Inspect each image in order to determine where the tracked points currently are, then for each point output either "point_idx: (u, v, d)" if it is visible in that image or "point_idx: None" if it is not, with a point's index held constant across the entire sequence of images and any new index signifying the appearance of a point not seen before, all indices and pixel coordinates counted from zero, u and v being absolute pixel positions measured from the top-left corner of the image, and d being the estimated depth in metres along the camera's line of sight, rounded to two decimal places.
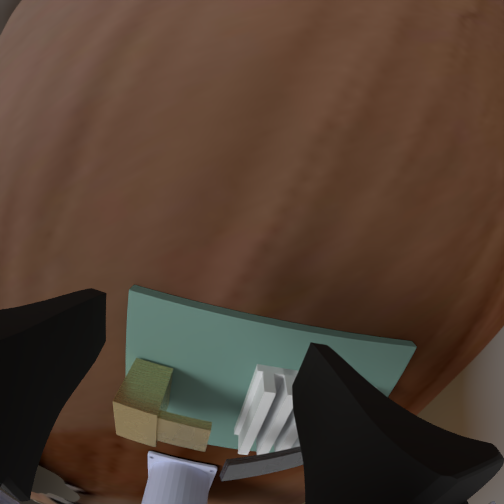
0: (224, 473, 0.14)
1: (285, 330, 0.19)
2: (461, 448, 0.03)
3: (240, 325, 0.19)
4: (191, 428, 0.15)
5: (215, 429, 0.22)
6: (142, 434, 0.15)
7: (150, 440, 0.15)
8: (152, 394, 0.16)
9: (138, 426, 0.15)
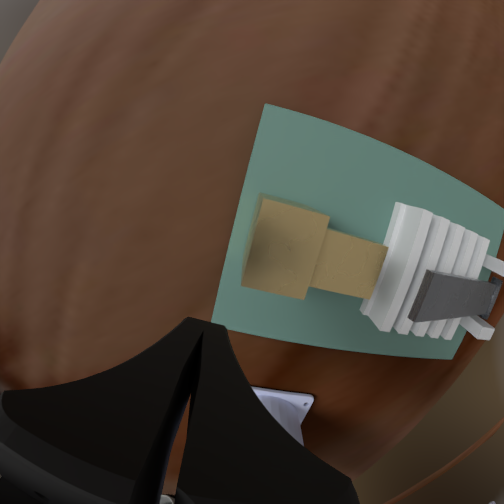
0: (421, 300, 0.11)
1: (418, 162, 0.16)
2: (284, 471, 0.03)
3: (382, 150, 0.16)
4: (366, 245, 0.13)
5: (336, 315, 0.19)
6: (293, 269, 0.13)
7: (301, 282, 0.13)
8: (306, 207, 0.14)
9: (291, 250, 0.12)
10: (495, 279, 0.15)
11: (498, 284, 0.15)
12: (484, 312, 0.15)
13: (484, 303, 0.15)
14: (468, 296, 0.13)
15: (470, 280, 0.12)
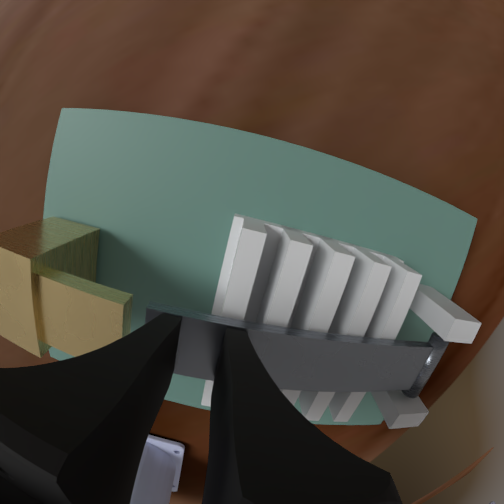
0: None
1: (280, 145, 0.11)
2: (331, 470, 0.03)
3: (207, 135, 0.11)
4: (87, 299, 0.08)
5: None
6: (18, 320, 0.07)
7: (30, 337, 0.08)
8: (45, 241, 0.09)
9: (11, 299, 0.07)
10: (432, 338, 0.10)
11: (436, 347, 0.10)
12: (402, 388, 0.10)
13: (393, 375, 0.10)
14: (307, 362, 0.09)
15: (298, 337, 0.09)
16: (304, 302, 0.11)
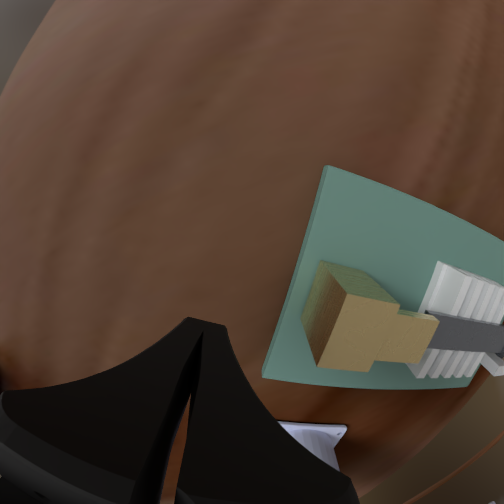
0: None
1: (460, 221, 0.16)
2: (284, 471, 0.03)
3: (431, 213, 0.16)
4: (423, 322, 0.13)
5: (376, 362, 0.19)
6: (363, 350, 0.13)
7: (368, 359, 0.13)
8: (374, 288, 0.14)
9: (364, 336, 0.12)
10: None
11: None
12: (498, 351, 0.16)
13: (496, 343, 0.15)
14: (473, 334, 0.15)
15: (473, 321, 0.15)
16: None
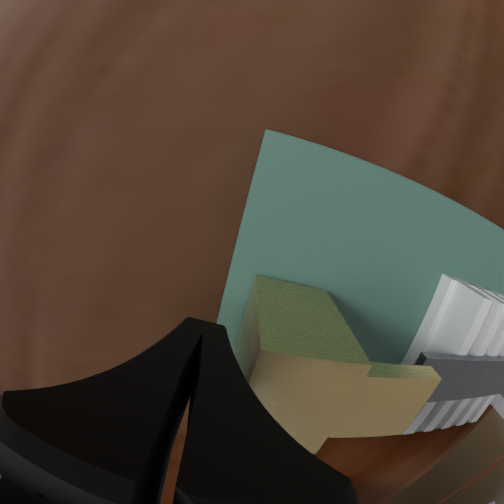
0: None
1: (475, 217, 0.11)
2: (283, 471, 0.03)
3: (434, 203, 0.11)
4: (414, 383, 0.07)
5: None
6: (303, 429, 0.07)
7: (314, 439, 0.07)
8: (330, 328, 0.08)
9: (303, 412, 0.07)
10: None
11: None
12: None
13: None
14: (485, 377, 0.09)
15: (488, 361, 0.09)
16: None
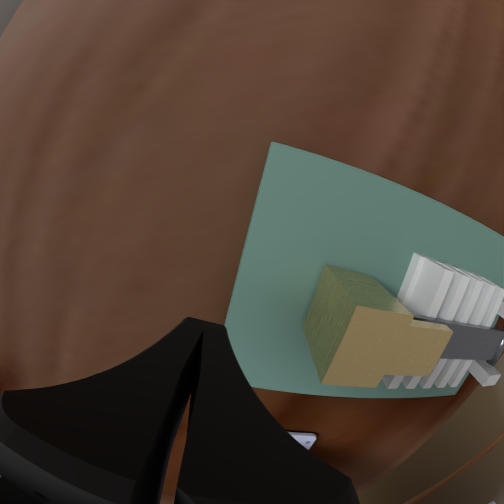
0: None
1: (441, 207, 0.15)
2: (284, 471, 0.03)
3: (403, 196, 0.14)
4: (436, 333, 0.11)
5: None
6: (372, 365, 0.11)
7: (377, 374, 0.11)
8: (384, 296, 0.12)
9: (374, 350, 0.11)
10: None
11: None
12: (489, 358, 0.14)
13: (487, 349, 0.14)
14: (456, 340, 0.13)
15: (457, 325, 0.13)
16: None
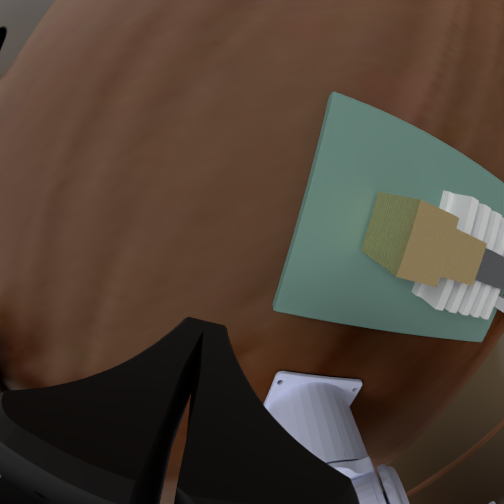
0: None
1: (460, 156, 0.16)
2: (284, 471, 0.03)
3: (432, 143, 0.16)
4: (475, 241, 0.13)
5: (392, 297, 0.19)
6: (433, 261, 0.13)
7: (437, 271, 0.13)
8: None
9: (434, 245, 0.12)
10: None
11: None
12: None
13: None
14: (487, 263, 0.15)
15: (486, 248, 0.15)
16: None
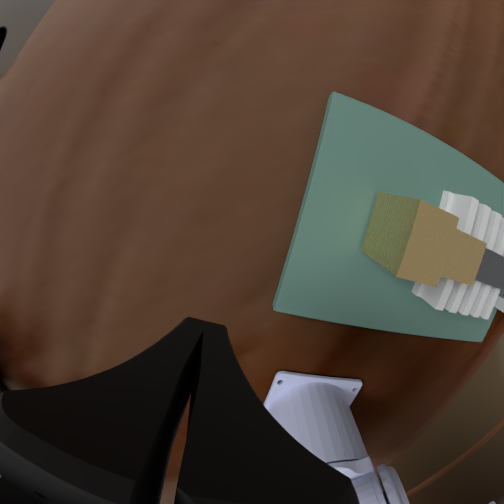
0: None
1: (460, 156, 0.16)
2: (284, 471, 0.03)
3: (432, 143, 0.16)
4: (475, 241, 0.13)
5: (392, 297, 0.19)
6: (433, 261, 0.13)
7: (437, 271, 0.13)
8: None
9: (434, 245, 0.12)
10: None
11: None
12: None
13: None
14: (487, 263, 0.15)
15: (486, 248, 0.15)
16: None
